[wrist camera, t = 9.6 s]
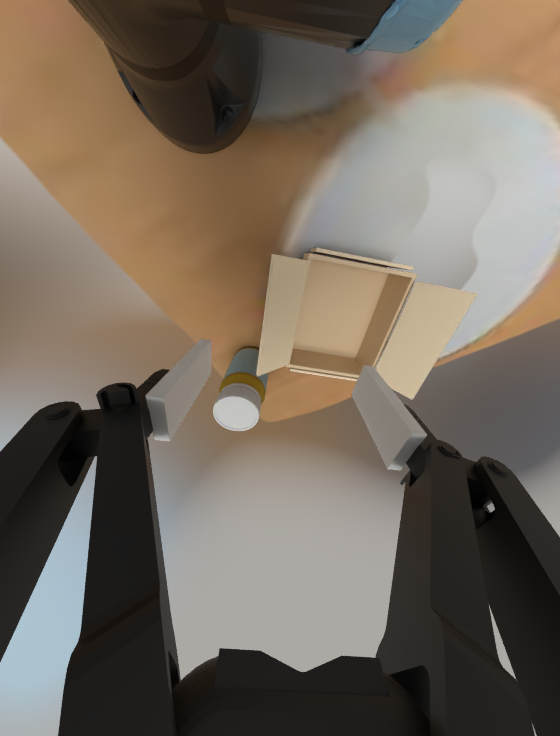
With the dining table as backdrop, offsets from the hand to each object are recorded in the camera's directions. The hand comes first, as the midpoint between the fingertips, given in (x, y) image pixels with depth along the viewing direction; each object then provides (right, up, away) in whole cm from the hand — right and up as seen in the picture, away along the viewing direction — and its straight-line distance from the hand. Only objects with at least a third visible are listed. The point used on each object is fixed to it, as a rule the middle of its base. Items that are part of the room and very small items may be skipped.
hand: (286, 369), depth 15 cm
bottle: (-6, +1, +25) cm, 26 cm away
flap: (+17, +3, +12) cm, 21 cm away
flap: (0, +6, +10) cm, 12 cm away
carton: (+9, +9, +20) cm, 24 cm away
